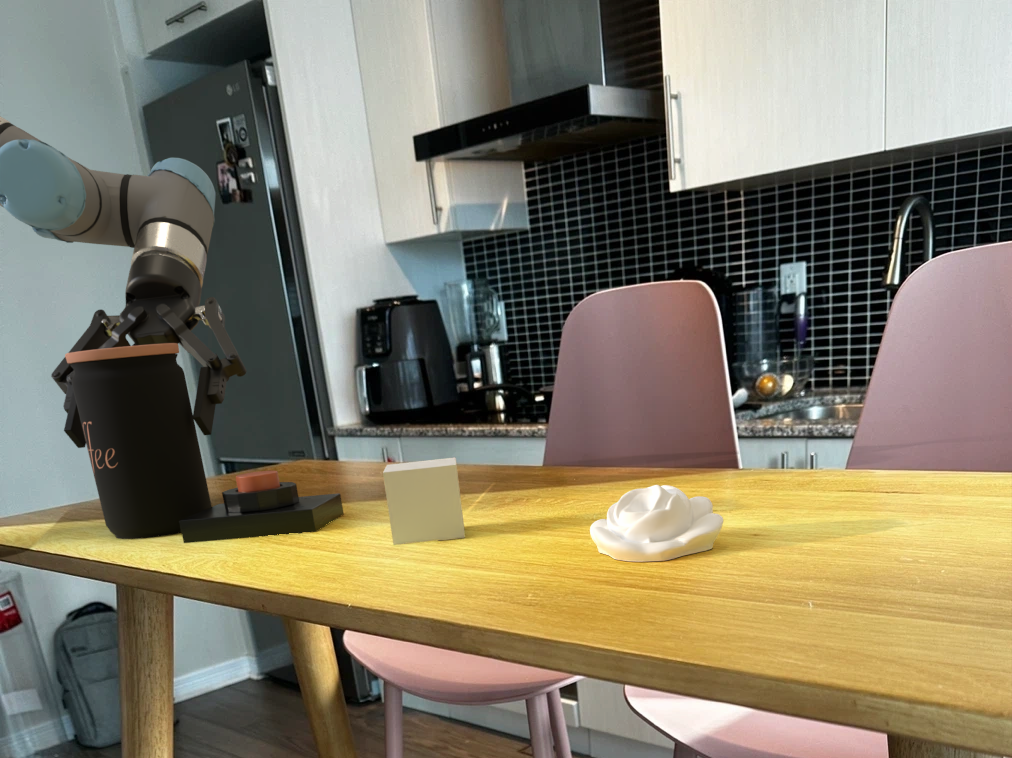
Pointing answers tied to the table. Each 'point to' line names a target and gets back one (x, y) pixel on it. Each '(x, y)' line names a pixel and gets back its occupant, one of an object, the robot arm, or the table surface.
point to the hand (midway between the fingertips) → (137, 433)
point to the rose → (656, 525)
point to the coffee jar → (140, 438)
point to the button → (257, 481)
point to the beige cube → (424, 501)
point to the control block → (262, 514)
